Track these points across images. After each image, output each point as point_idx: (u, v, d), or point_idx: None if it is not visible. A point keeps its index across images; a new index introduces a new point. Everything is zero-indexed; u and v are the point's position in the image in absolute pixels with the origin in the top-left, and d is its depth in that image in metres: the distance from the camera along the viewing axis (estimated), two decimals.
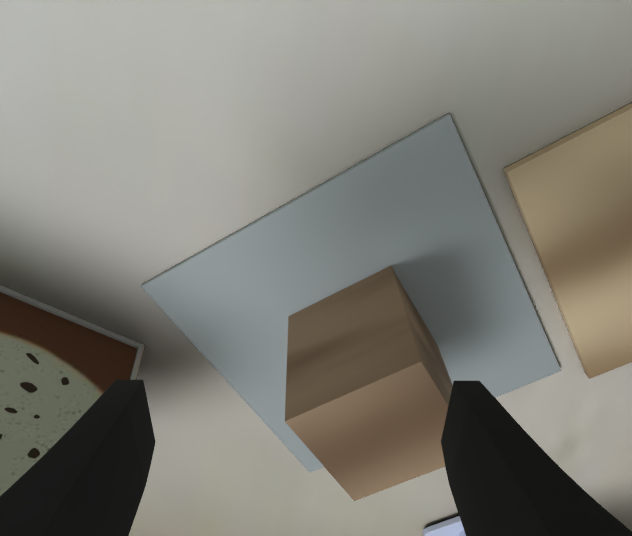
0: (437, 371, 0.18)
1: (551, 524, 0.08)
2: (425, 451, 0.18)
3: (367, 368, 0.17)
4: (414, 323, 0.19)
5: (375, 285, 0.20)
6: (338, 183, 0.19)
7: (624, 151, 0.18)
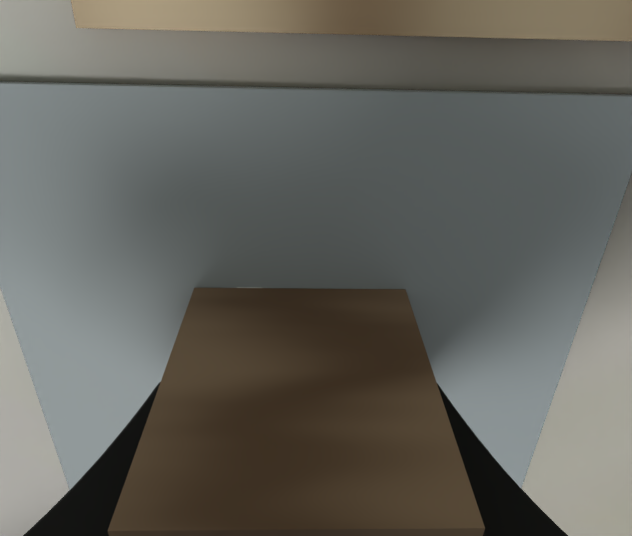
0: (296, 421, 0.08)
1: (484, 524, 0.08)
2: None
3: None
4: (218, 370, 0.09)
5: None
6: (12, 291, 0.12)
7: None
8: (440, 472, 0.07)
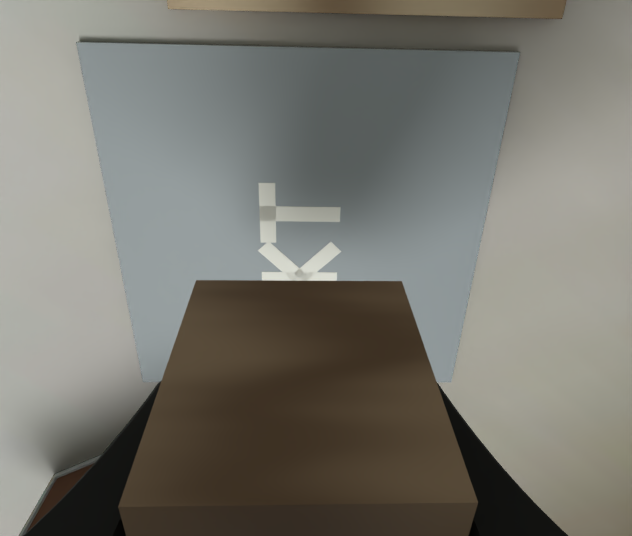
0: (297, 405, 0.09)
1: (484, 524, 0.08)
2: None
3: None
4: (220, 358, 0.10)
5: None
6: (110, 184, 0.18)
7: None
8: (435, 451, 0.08)
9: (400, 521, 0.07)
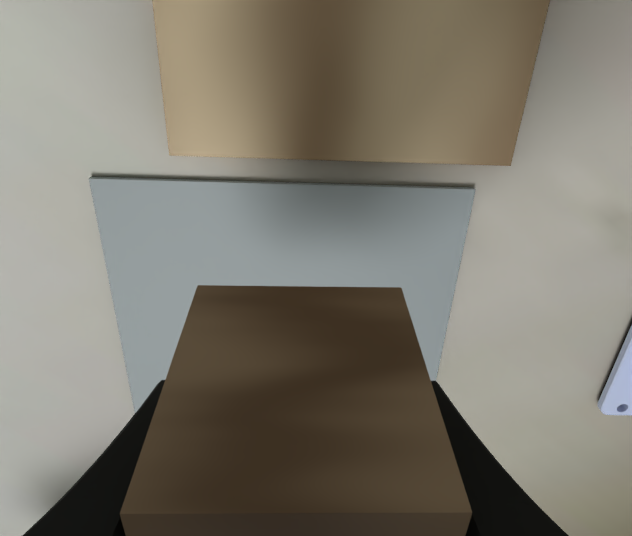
0: (296, 412, 0.09)
1: (485, 524, 0.08)
2: None
3: None
4: (221, 364, 0.10)
5: None
6: (116, 288, 0.20)
7: (203, 27, 0.15)
8: (431, 461, 0.08)
9: (396, 529, 0.07)
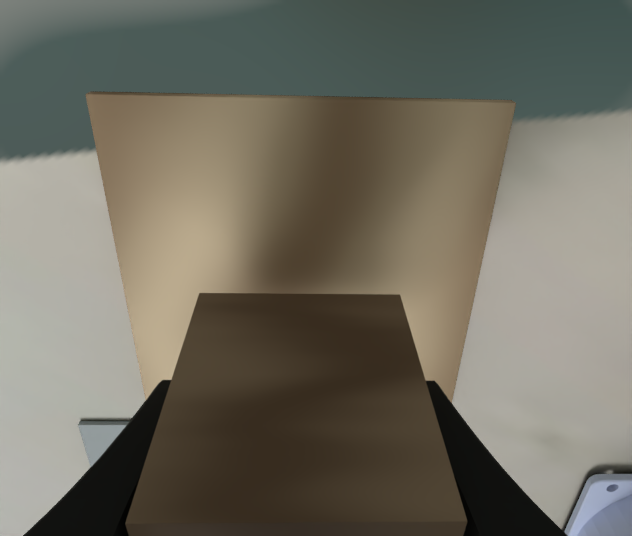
0: (296, 422, 0.09)
1: (484, 524, 0.08)
2: None
3: None
4: (223, 373, 0.10)
5: None
6: None
7: (173, 327, 0.18)
8: (428, 470, 0.08)
9: None
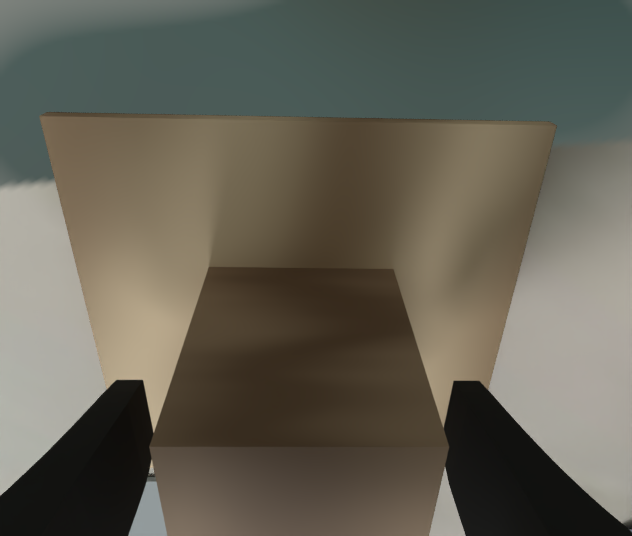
0: (299, 370, 0.10)
1: (551, 524, 0.08)
2: (376, 505, 0.09)
3: None
4: (232, 332, 0.11)
5: None
6: None
7: (153, 379, 0.15)
8: (415, 407, 0.09)
9: (384, 462, 0.09)
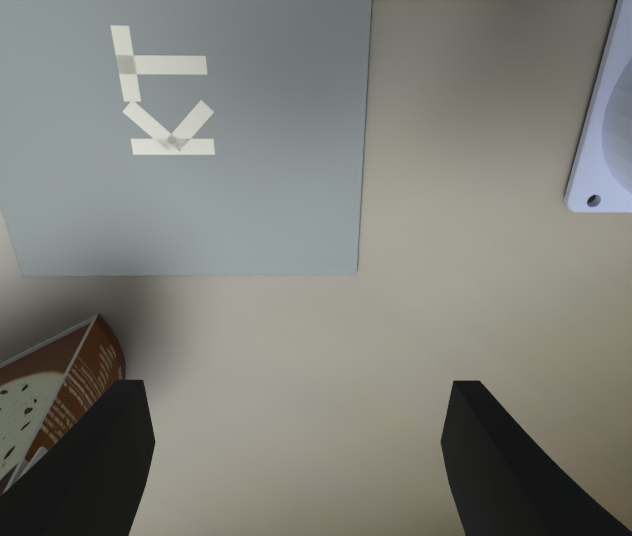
0: None
1: (551, 524, 0.08)
2: None
3: None
4: None
5: None
6: None
7: None
8: None
9: None
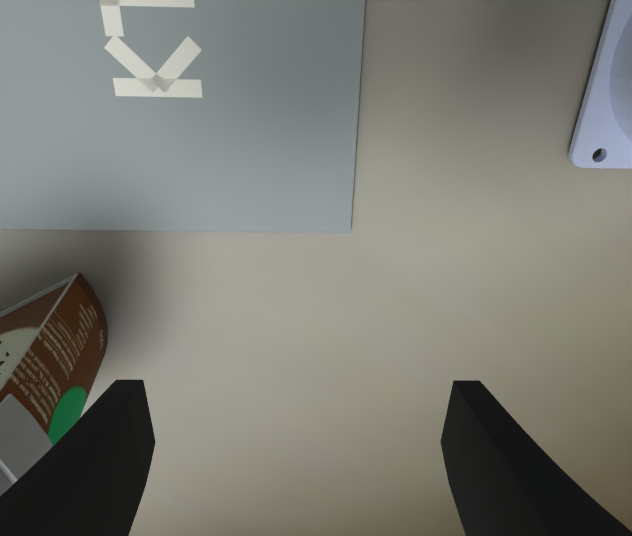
0: None
1: (551, 524, 0.08)
2: None
3: None
4: None
5: None
6: None
7: None
8: None
9: None
